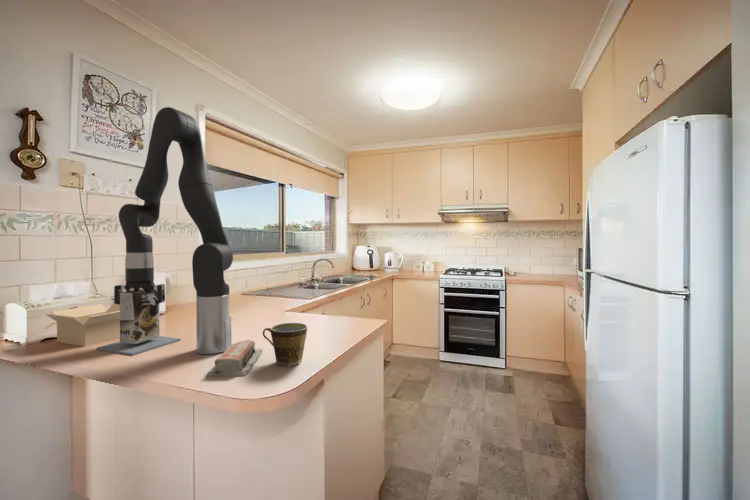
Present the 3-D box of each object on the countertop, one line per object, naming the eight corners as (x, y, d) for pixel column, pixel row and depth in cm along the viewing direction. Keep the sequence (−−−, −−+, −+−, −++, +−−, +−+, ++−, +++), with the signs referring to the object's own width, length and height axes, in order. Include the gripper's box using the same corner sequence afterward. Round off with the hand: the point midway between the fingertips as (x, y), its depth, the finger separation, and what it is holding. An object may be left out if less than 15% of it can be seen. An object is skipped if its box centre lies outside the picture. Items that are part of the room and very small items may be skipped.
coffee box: (136, 344, 102) (135, 292, 102) (119, 343, 104) (118, 291, 103) (160, 336, 111) (160, 288, 111) (144, 335, 112) (144, 288, 112)
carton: (147, 332, 121) (146, 305, 121) (80, 350, 102) (80, 318, 101) (110, 327, 128) (109, 302, 128) (40, 343, 108) (40, 313, 108)
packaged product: (247, 358, 83) (206, 359, 82) (247, 377, 83) (206, 379, 82) (263, 337, 101) (229, 338, 100) (263, 353, 101) (229, 354, 100)
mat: (180, 340, 112) (180, 338, 112) (132, 355, 97) (132, 353, 97) (146, 335, 118) (146, 334, 118) (96, 349, 102) (96, 347, 102)
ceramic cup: (312, 357, 96) (312, 323, 96) (298, 370, 87) (298, 332, 86) (271, 354, 99) (271, 321, 99) (253, 366, 89) (253, 330, 89)
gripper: (169, 265, 112) (169, 313, 112) (122, 265, 109) (122, 314, 110) (158, 267, 104) (158, 318, 105) (107, 267, 102) (108, 320, 102)
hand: (140, 316), depth 107 cm, fingers closed on coffee box, 7 cm apart
